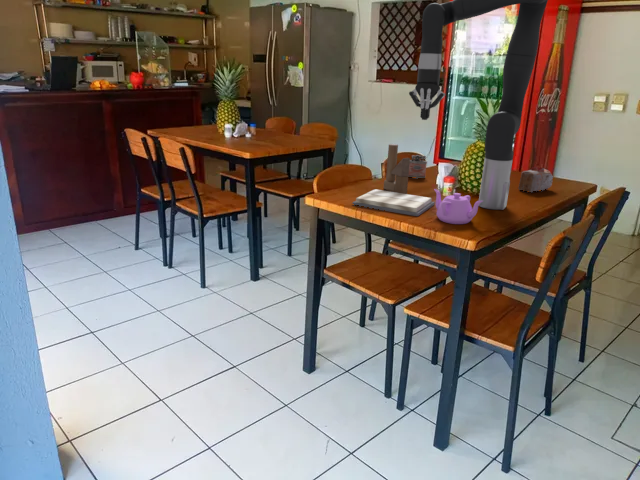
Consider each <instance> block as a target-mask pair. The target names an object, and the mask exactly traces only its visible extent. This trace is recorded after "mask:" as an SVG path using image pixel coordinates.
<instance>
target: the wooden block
mask: <svg viewBox="0 0 640 480" xmlns="http://www.w3.org/2000/svg"><path fill="white" fill-rule="evenodd" d="M398 149H399V145H398V144H396V143H389V144H388V151H387V160H386V161H387V162H386V163H387V165H386V174H385V175H386V177H385V178H386V179H384V180H383V189H384V191H389V192H396V193H402V194H408V185H409V184H408V183H409V178H408V176H409V165H410V160H411V158H410V157H403V158H402V159H401V160H400V161H399V162H398V161H397V160H398ZM397 162H398V163H397Z"/></svg>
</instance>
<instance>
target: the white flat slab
mask: <svg viewBox="0 0 640 480" xmlns="http://www.w3.org/2000/svg"><path fill="white" fill-rule="evenodd" d="M355 201H356V202H358V203H364V204H369V205H375V206H381V207H387V208H393V209H399V210H405V211H411V212H417V211H419V210H420V209H422V208H423V207H424V203H422V202H415V201H409V200H403V199H397V198H390V197H384V196H378V195H371V194H366V193H364V194H362V195H360V196H358V197H356V198H355Z"/></svg>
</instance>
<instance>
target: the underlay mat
mask: <svg viewBox="0 0 640 480" xmlns="http://www.w3.org/2000/svg"><path fill="white" fill-rule="evenodd" d="M352 204H354V205H353V206H355V205H359V206H358V207H361V206H364V207H363V208H367V207H369V208H368V209H372V208H374V209H373V210H378V209H379V210H380V211H384V210H385V212H390V213H396V214H401V215H408V216H414V217H419V216H420V215H422V214H424V213H425V212H426V211H427V210H429V209H430V208H432V207H433V206H435V204H436V201H432V200H431V203H429V204H428V205H426V206H425V207H423V208H422V209H420V210H419V211H417V212H411V211H405V210H399V209H393V208H387V207H381V206H375V205H369V204H364V203H358V202H356V200H355V201H352ZM379 210H378V211H379Z"/></svg>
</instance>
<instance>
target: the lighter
mask: <svg viewBox="0 0 640 480" xmlns="http://www.w3.org/2000/svg"><path fill="white" fill-rule="evenodd" d="M426 158H427V155H418V154H416V155H411V159H410V165H409V176H408V177H416V178H415V179H418V178H425V177H426V171H427V164H428V161H427V160H426ZM425 179H426V178H425Z"/></svg>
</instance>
